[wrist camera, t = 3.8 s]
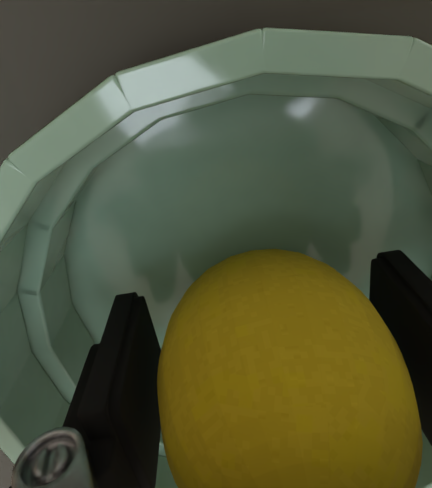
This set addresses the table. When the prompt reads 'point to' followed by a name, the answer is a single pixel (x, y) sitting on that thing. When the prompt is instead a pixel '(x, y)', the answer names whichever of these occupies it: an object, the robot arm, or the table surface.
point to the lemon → (284, 382)
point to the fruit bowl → (205, 193)
